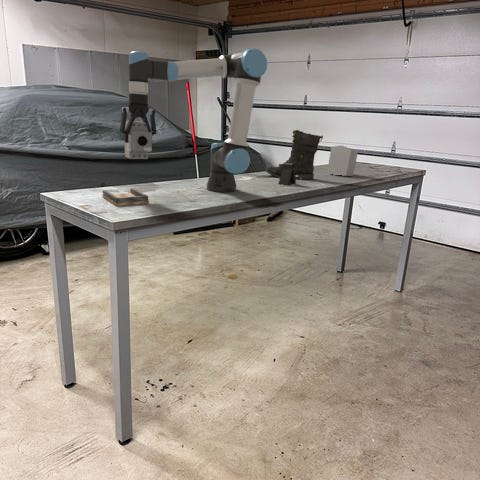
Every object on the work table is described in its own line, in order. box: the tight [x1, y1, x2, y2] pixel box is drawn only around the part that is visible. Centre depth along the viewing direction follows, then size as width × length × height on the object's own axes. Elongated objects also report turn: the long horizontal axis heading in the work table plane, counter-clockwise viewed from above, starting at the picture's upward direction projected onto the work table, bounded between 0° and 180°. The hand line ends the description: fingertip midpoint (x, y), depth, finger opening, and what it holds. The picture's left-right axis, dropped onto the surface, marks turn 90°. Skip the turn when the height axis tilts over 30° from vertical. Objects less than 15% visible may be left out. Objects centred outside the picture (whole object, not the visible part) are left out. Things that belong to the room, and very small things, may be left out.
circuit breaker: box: [124, 120, 153, 160], centre depth 172 cm, size 8×14×15 cm, turn 32°
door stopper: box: [278, 161, 297, 186], centre depth 232 cm, size 9×6×12 cm, turn 140°
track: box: [101, 188, 150, 207], centre depth 174 cm, size 14×18×3 cm
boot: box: [265, 129, 324, 180], centre depth 254 cm, size 12×33×29 cm, turn 79°
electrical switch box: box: [326, 145, 358, 177], centre depth 278 cm, size 15×15×20 cm
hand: (138, 151), depth 173 cm, fingers closed on circuit breaker, 8 cm apart
